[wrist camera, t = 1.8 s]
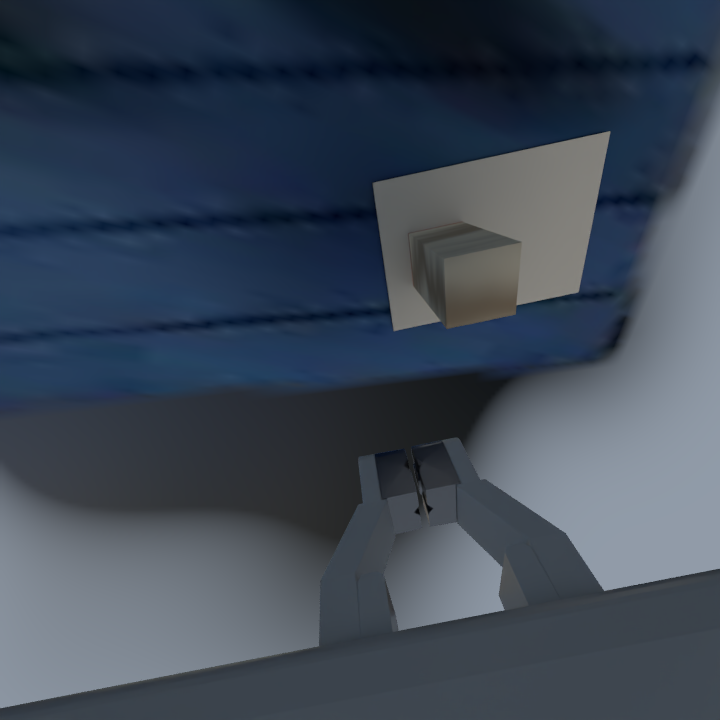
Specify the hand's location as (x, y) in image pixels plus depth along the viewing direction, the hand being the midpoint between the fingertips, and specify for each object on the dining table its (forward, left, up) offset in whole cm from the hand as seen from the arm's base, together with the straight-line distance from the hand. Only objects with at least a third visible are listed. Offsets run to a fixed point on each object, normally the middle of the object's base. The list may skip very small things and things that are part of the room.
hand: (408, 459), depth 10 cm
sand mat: (0, +13, -23) cm, 27 cm away
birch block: (0, +8, -23) cm, 24 cm away
